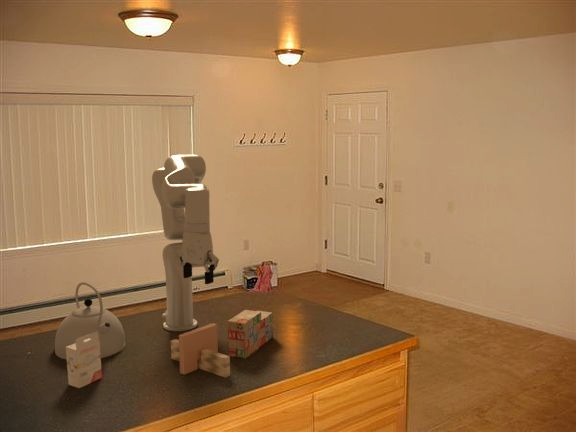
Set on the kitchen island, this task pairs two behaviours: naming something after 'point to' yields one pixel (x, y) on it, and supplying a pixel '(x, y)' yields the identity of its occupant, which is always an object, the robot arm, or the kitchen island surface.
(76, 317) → the kettle
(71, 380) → the ink cartridge box
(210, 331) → the terracotta slotted plate
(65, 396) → the kitchen island surface
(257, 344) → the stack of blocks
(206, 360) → the oak notched board
